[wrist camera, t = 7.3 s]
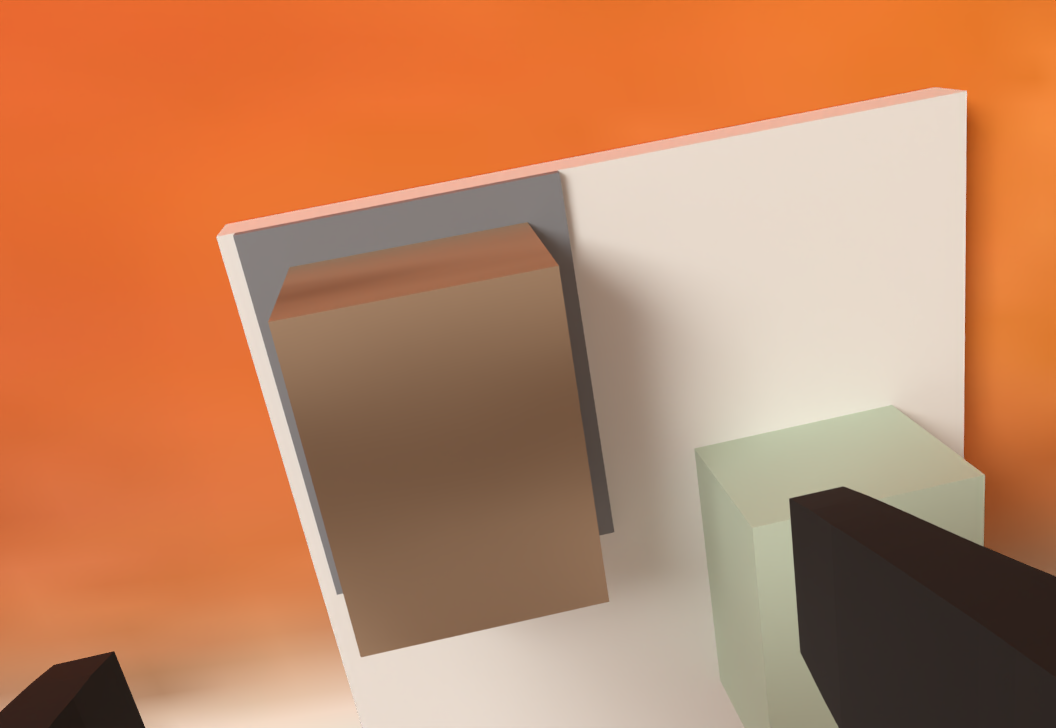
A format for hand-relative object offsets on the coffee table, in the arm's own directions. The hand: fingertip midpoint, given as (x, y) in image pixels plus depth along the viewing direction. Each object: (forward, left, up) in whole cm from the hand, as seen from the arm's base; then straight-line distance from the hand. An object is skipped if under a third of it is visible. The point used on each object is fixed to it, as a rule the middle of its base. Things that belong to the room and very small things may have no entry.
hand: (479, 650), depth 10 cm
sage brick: (-5, -7, -7) cm, 11 cm away
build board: (-5, -4, -8) cm, 11 cm away
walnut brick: (0, 0, -7) cm, 7 cm away
